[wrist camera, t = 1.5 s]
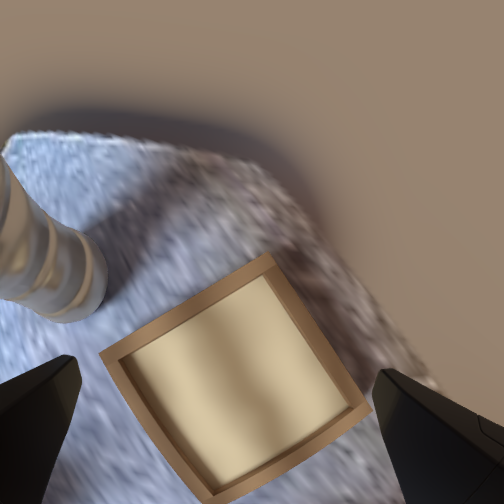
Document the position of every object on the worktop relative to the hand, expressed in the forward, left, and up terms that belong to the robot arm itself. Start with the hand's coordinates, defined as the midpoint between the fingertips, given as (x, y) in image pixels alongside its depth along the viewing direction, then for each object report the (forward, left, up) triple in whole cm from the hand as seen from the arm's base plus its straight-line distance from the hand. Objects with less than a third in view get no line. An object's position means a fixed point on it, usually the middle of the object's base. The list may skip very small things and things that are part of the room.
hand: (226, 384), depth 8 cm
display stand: (-1, -2, -14) cm, 14 cm away
